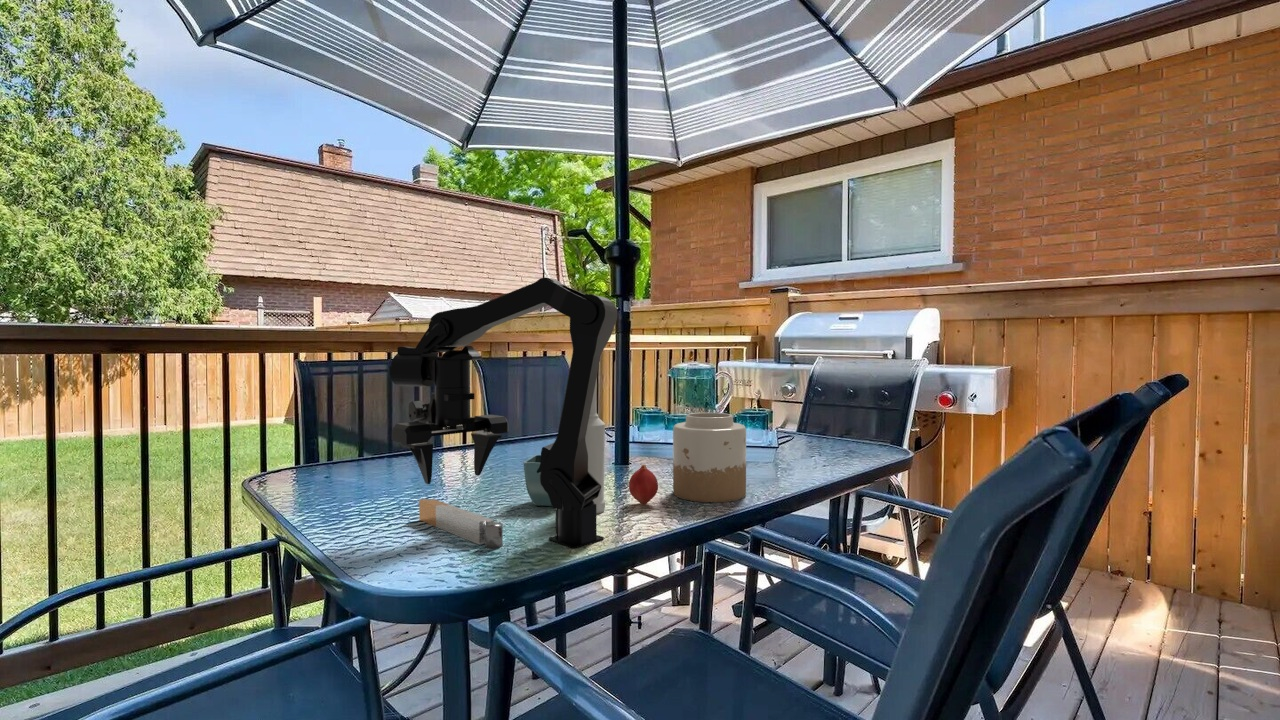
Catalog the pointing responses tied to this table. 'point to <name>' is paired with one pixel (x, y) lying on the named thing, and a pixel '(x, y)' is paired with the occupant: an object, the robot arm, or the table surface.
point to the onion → (643, 485)
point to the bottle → (596, 451)
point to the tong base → (491, 528)
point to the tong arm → (453, 521)
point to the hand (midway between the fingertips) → (453, 479)
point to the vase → (709, 458)
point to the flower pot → (535, 482)
